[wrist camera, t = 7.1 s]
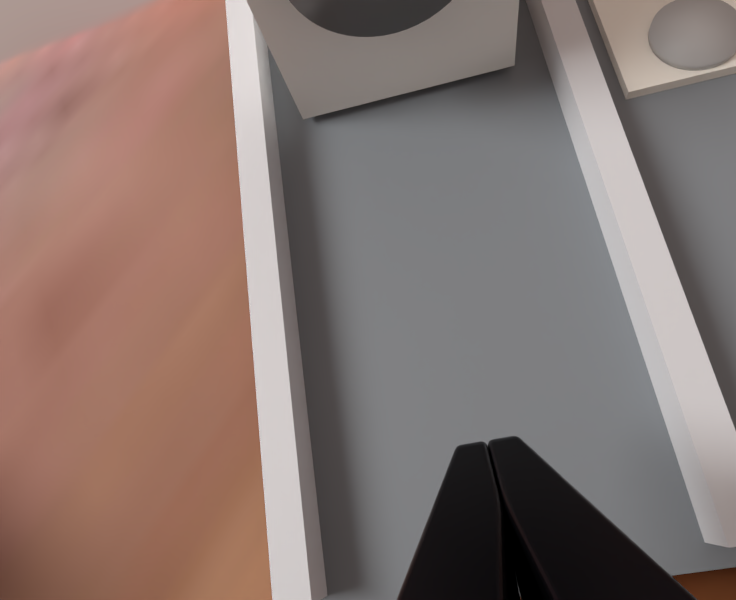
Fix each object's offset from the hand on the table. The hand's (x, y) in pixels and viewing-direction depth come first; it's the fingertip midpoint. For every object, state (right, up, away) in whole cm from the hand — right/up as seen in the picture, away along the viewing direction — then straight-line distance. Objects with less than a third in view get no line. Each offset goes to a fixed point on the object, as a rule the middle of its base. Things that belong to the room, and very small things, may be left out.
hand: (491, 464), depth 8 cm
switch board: (+3, +5, +8) cm, 10 cm away
